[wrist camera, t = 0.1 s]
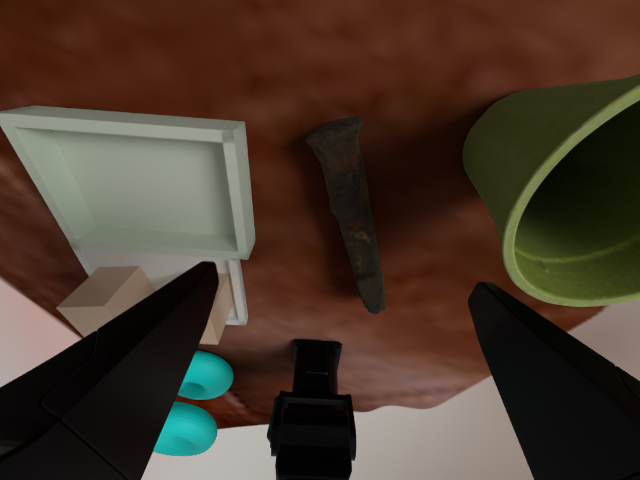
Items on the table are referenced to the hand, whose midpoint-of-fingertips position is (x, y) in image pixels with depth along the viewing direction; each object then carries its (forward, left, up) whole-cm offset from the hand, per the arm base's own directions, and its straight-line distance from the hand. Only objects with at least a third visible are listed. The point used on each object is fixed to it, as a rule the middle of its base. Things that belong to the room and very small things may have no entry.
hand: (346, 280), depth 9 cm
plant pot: (+2, -13, -15) cm, 20 cm away
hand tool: (-6, -3, -15) cm, 17 cm away
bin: (-4, +15, -15) cm, 21 cm away
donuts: (-33, +17, -15) cm, 40 cm away
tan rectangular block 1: (-16, +21, -14) cm, 30 cm away
